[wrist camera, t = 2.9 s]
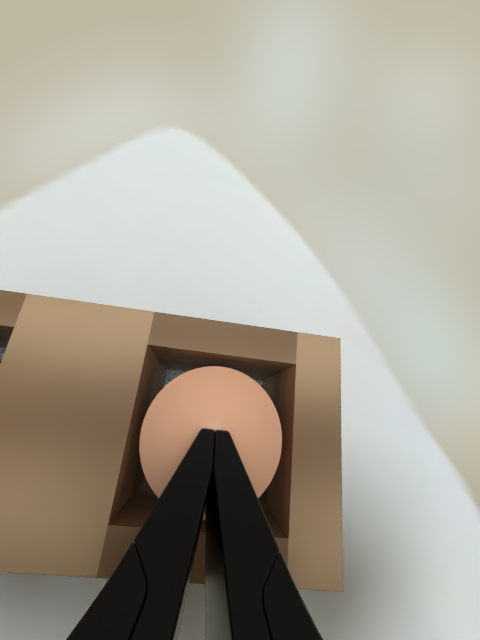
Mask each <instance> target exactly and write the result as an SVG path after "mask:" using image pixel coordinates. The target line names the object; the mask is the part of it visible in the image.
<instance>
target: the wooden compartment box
mask: <svg viewBox="0 0 480 640" xmlns="http://www.w3.org/2000/svg"><path fill="white" fill-rule="evenodd" d="M0 348H6V350H5V353H4V355H3V358H2V360H1V363H0V572H8V573H26V574H43V575H60V576H78V577H95V578H110V577H111V575H112V574H113V572H114V570H115V569H116V567H117V566H118V564H119V563H120V561H121V559H122V558H123V556H124V554H125V553H126V551H127V550H128V548H129V546H130V545H131V543H134V538H135V537H136V535H137V533H138V532H139V530H140V528H141V527H142V525H143V523H144V522H145V520H146V519H147V517H148V515H149V514H150V512H151V510H152V509H153V507H154V505H155V504H156V502H157V500H158V499H159V498H158V497H157V496H156V494H155V493H154V492H153V490H152V489H151V487H150V485H149V483H148V482H147V480H146V477H145V475H144V472H143V469H142V465H141V460H140V451H139V444H140V433H141V428H142V424H143V420H144V418H145V415H146V413H147V410H148V408H149V407H150V405H151V403H152V401H153V400H154V399H155V397H156V396H157V394H158V393H159V392H160V391H161V390H162V389H163V387H164V382H165V376H166V371H167V368H168V369H176V370H184V371H190V370H193V369H196V368H201V367H208V366H219V367H226V368H231V369H234V370H237V371H239V372H242V373H244V374H246V375H247V376H249V377H250V378H252V379H256V380H263V389H264V390H265V391H266V393H267V394H268V396H269V397H270V399H271V400H272V402H273V404H274V406H275V408H276V411H277V413H278V416H279V420H280V424H281V431H282V448H281V456H280V460H279V464H278V467H277V469H276V472H275V475H274V476H273V478H272V480H271V482H270V484H269V485H268V487H267V488H266V490H265V491H264V492H263V493H262V495H261V496H260V497H259V498H258V500H259V502H260V504H261V507H262V509H263V511H264V514H265V516H266V518H267V521H268V523H269V525H270V528H271V530H272V532H273V535H274V537H275V539H276V542H277V544H278V546H279V549H280V551H279V553H282V555H283V558H284V560H285V562H286V565H287V567H288V569H289V572H290V574H291V576H292V578H293V580H294V583H295V585H296V587H297V589H303V590H320V591H337V592H343V591H342V474H341V357H340V338H334V337H327V336H320V335H313V334H306V333H299V332H292V331H285V330H278V329H271V328H264V327H257V326H250V325H243V324H236V323H229V322H222V321H215V320H208V319H201V318H194V317H187V316H180V315H173V314H166V313H158V312H151V311H144V310H137V309H130V308H123V307H116V306H109V305H102V304H95V303H88V302H81V301H74V300H67V299H60V298H53V297H46V296H39V295H32V294H25V293H18V292H11V291H4V290H0ZM279 553H278V554H279ZM189 583H199V584H205V520H203V521H202V526H201V531H200V535H199V540H198V544H197V549H196V554H195V558H194V563H193V568H192V572H191V577H190V581H189Z"/></svg>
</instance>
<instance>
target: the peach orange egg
mask: <svg viewBox="0 0 480 640" xmlns="http://www.w3.org/2000/svg"><path fill="white" fill-rule="evenodd" d="M202 428H208V429H214V430H215V431H216V430H227V431H229V432H230V434H231V437H232V439H233V441H234V444H235V446H236V448H237V451H238V453H239V455H240V458H241V460H242V462H243V465H244V467H245V469H246V472H247V474H248V476H249V479H250V481H251V483H252V486H253V488H254V490H255V493H256V495H257V497H258V498H259V497H260V496H261V495H262V493H263V492H264V491H265V490H266V488H267V487H268V485H269V484H270V482H271V480H272V478H273V476H274V475H275V472H276V469H277V467H278V464H279V460H280V456H281V448H282V431H281V424H280V420H279V416H278V413H277V411H276V408H275V406H274V404H273V402H272V400H271V399H270V397H269V396H268V394H267V393H266V391H265V390H264V389H263V388H262V387H261V386H260V385H259V384H258V383H257V382H256V381H255V380H253V379H252V378H250V377H249V376H247V375H246V374H244V373H242V372H239V371H237V370H234V369H231V368H226V367H219V366H208V367H201V368H196V369H193V370H190V371H187V372H185V373H183V374H181V375H179V376H178V377H176V378H175V379H173V380H172V381H171V382H169V383H168V384H167V385H166V386H165V387H164V388H163V389H162V390H161V391H160V392H159V393H158V394H157V396H156V397H155V399H154V400H153V401H152V403H151V405H150V407H149V408H148V410H147V413H146V415H145V418H144V420H143V424H142V428H141V433H140V444H139V451H140V460H141V465H142V469H143V472H144V475H145V477H146V480H147V482H148V483H149V485H150V487H151V489H152V490H153V492H154V493H155V494H156V496H157V497H158V498H159V497H160V495H161V494H162V492H163V490H164V489H165V487H166V486H167V484H168V482H169V481H170V479H171V477H172V476H173V474H174V472H175V471H176V469H177V467H178V466H179V464H180V462H181V461H182V459H183V457H184V456H185V454H186V453H187V451H188V449H189V448H190V446H191V444H192V443H193V441H194V439H195V438H196V436H197V434H198V433H199V431H200V430H201V429H202ZM205 509H206V506H205ZM203 520H205V511H204V516H203Z"/></svg>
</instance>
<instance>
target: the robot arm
mask: <svg viewBox="0 0 480 640" xmlns="http://www.w3.org/2000/svg"><path fill="white" fill-rule="evenodd" d="M205 506H206V509H205ZM204 511H205V640H323V638H322V637H321V635H320V633H319V631H318V629H317V627H316V625H315V623H314V621H313V619H312V617H311V615H310V614H309V612H308V610H307V608H306V606H305V604H304V602H303V600H302V598H301V596H300V594H299V591H298V589H297V587H296V585H295V583H294V580H293V578H292V576H291V574H290V572H289V569H288V567H287V565H286V562H285V560H284V558H283V555H282V553H279V551H280V549H279V546H278V544H277V542H276V539H275V537H274V535H273V532H272V530H271V528H270V525H269V523H268V521H267V518H266V516H265V514H264V511H263V509H262V507H261V504H260V502H259V500H258V497H257V495H256V493H255V490H254V488H253V486H252V483H251V481H250V479H249V476H248V474H247V472H246V469H245V467H244V465H243V462H242V460H241V458H240V455H239V453H238V451H237V448H236V446H235V444H234V441H233V439H232V437H231V434H230V432H229V431H227V430H216V431H215V430H214V429H208V428H202V429H201V430H200V431H199V433H198V434H197V436H196V438H195V439H194V441H193V443H192V444H191V446H190V448H189V449H188V451H187V453H186V454H185V456H184V457H183V459H182V461H181V462H180V464H179V466H178V467H177V469H176V471H175V472H174V474H173V476H172V477H171V479H170V481H169V482H168V484H167V486H166V487H165V489H164V490H163V492H162V494H161V495H160V497H159V499H158V500H157V502H156V504H155V505H154V507H153V509H152V510H151V512H150V514H149V515H148V517H147V519H146V520H145V522H144V523H143V525H142V527H141V528H140V530H139V532H138V533H137V535H136V537H135V538H134V543H131V545H130V546H129V548H128V550H127V551H126V553H125V554H124V556H123V558H122V559H121V561H120V563H119V564H118V566H117V567H116V569H115V570H114V572H113V574H112V575H111V577H110V578H109V580H108V581H107V583H106V584H105V586H104V588H103V589H102V590H101V592H100V593H99V595H98V596H97V598H96V599H95V600H94V602H93V603H92V605H91V606H90V607H89V609H88V610H87V612H86V613H85V615H84V616H83V617H82V619H81V620H80V622H79V623H78V624H77V626H76V627H75V628H74V630H73V631H72V632H71V634H70V635H69V636H68V638H67V639H66V640H177V637H178V632H179V628H180V623H181V618H182V614H183V609H184V605H185V600H186V595H187V591H188V586H189V581H190V577H191V572H192V568H193V563H194V558H195V554H196V549H197V544H198V540H199V535H200V531H201V526H202V521H203V516H204ZM278 553H279V554H278Z"/></svg>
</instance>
